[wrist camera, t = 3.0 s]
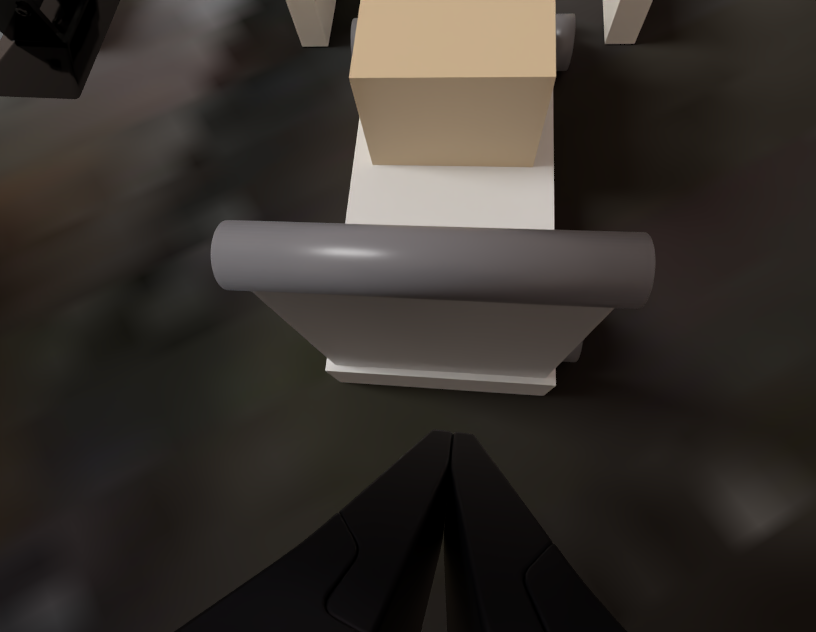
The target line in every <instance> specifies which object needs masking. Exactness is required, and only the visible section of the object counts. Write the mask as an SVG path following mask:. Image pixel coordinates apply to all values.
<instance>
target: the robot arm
mask: <svg viewBox="0 0 816 632" xmlns="http://www.w3.org/2000/svg"><path fill="white" fill-rule="evenodd" d="M452 438H453V440H452ZM446 503H447V504H446ZM445 514H446V516H445ZM444 524H445V527H444ZM443 533H444V565H445V588H446V611H447V632H627V631H626V630H625V629H624V628H623V627H622V626H621V624H620V623H619V622H618V621H617V620H616V619H615V618H614V617H613V616H612V615H611V613H610V612H609V611H608V610H607V609H606V608H605V606H604V605H603V604H602V603H601V602H600V601H599V600H598V598H597V597H596V596H595V595H594V594H593V593H592V591H591V590H590V589H589V588H588V587H587V586H586V584H585V583H584V582H583V581H582V579H581V578H580V577H579V576H578V574H577V573H576V572H575V570H574V569H573V568H572V567H571V565H570V564H569V563H568V561H567V560H566V559H565V557H564V556H563V555H562V553H561V552H560V551H559V549H558V548H557V546H556V545H555V544H553V543H552V541H551V539H550V538H549V537H548V535H547V534H546V533H545V531H544V530H543V528H542V527H541V526H540V524H539V523H538V522H537V520H536V519H535V517H534V516H533V515H532V513H531V512H530V511H529V509H528V508H527V507H526V505H525V504H524V502H523V501H522V500H521V498H520V497H519V496H518V494H517V493H516V491H515V490H514V489H513V487H512V486H511V485H510V483H509V482H508V481H507V479H506V478H505V476H504V475H503V474H502V472H501V471H500V470H499V468H498V467H497V465H496V464H495V463H494V461H493V460H492V459H491V457H490V456H489V455H488V453H487V452H486V450H485V449H484V448H483V446H482V445H481V444H480V442H479V441H478V439H477V438H476V437H475V436H474V435H473V434H469V433H461V432H455V433H454V434H452V432H450V431H444V430H435V429H434V430H432V431H430V432H429V433H428V434H427V435H426V436H425V437H424V438H423V439H421V440H420V441H419V442H418V443H417V444H416V445H415V446H413V447H412V448H411V449H410V450H409V451H408V452H407V453H405V454H404V455H403V456H402V457H401V458H400V459H399V460H398V461H396V462H395V463H394V464H393V465H392V466H391V467H390V468H388V469H387V470H386V471H385V472H384V473H383V474H382V475H380V476H379V477H378V478H377V479H376V480H375V481H374V482H372V483H371V484H370V485H369V486H368V487H367V488H366V489H365V490H363V491H362V492H361V493H360V494H359V495H358V496H357V497H355V498H354V499H353V500H352V501H351V502H350V503H349V504H347V505H346V506H345V507H344V508H343V509H342V510H341V511H340V512H339V513H336V514H335V515H334V516H333V517H332V518H331V519H329V520H328V521H327V522H326V523H325V524H324V525H323V526H321V527H320V528H319V529H318V530H316V531H315V532H314V533H313V534H312V535H310V536H309V537H308V538H307V539H305V540H304V541H303V542H302V543H300V544H299V545H298V546H296V547H295V548H294V549H292V550H291V551H289V552H288V553H287V554H285V555H284V556H283V557H281V558H280V559H278V560H277V561H276V562H274V563H273V564H271V565H270V566H268V567H267V568H266V569H264V570H263V571H261V572H260V573H258V574H257V575H255V576H254V577H253V578H251V579H250V580H248V581H247V582H245V583H244V584H242V585H241V586H240V587H238V588H237V589H235V590H234V591H232V592H231V593H229V594H228V595H227V596H225V597H224V598H222V599H221V600H219V601H218V602H216V603H215V604H213V605H212V606H211V607H209V608H208V609H206V610H205V611H203V612H202V613H200V614H199V615H198V616H196V617H195V618H193V619H192V620H190V621H189V622H187V623H186V624H185V625H183V626H182V627H180V628H179V629H177V630H176V631H174V632H421V629H422V624H423V620H424V616H425V612H426V608H427V604H428V599H429V595H430V591H431V587H432V583H433V579H434V574H435V570H436V566H437V562H438V558H439V554H440V549H441V545H442V540H443Z"/></svg>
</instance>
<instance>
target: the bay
mask: <svg viewBox="0 0 816 632" xmlns="http://www.w3.org/2000/svg"><path fill="white" fill-rule="evenodd" d="M652 1H653V0H603V14H604V38H605V44H635V41H636V39H637V37H638V34H639V32H640V30H641V27H642V25H643V22H644V20H645V18H646V15H647V13H648V11H649V8H650V6H651V3H652ZM286 2H287V5H288V8H289V11H290V14H291V16H292V19H293V22H294V25H295V27H296V30H297V33H298V36H299V39H300V41H301V44H302V47H315V46H328V44H329V39H330V33H331V27H332V22H333V16H334V10H335V5H336V0H286Z"/></svg>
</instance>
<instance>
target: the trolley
mask: <svg viewBox="0 0 816 632" xmlns="http://www.w3.org/2000/svg"><path fill="white" fill-rule="evenodd" d="M574 38H575V14H555V0H360V7H359V14H358V18H354V19H353V20H352V25H351V53H352V61H351V68H350V75H349V80H350V84H351V87H352V91H353V95H354V98H355V102H356V106H357V109H358V113H359V117H360V119H359V126H358V134H357V141H356V148H355V156H354V163H353V170H352V178H351V185H350V193H349V200H348V207H347V215H346V222H345V224H342V223H308V222H274V221H239V220H225V221H223V222H221V223H220V224H219V225H218V227H217V228H216V230H215V233H214V235H213V239H212V244H211V264H212V269H213V273H214V276H215V279H216V281H217V282H218V284H219V285H220V286H221V287H222V288H223V289H225V290H238V291H252V292H253V293H254V294H255V295H256V296H257V297H259V298H260V299H261V300H262V301H263V302H264V303H265V304H267V305H268V306H269V307H270V308H271V309H272V310H273V311H275V312H276V313H277V314H278V315H279V316H280V317H281V318H283V319H284V320H285V321H286V322H287V323H288V324H289V325H291V326H292V327H293V328H294V329H295V330H296V331H297V332H299V333H300V334H301V335H302V336H303V337H304V338H305V339H306V340H308V341H309V342H310V343H311V345H312V346H314V347H316V348H317V349H318V350H319V351H320V352H321V353H322V354H324V355H325V356H326V357H327V362H326V369H325V371H326V372H328V373H329V374H330V375H332V376H333V377H334V378H336V379H337V380H338V381H340V382H346V383H361V384H376V385H391V386H405V387H420V388H435V389H450V390H464V391H479V392H494V393H509V394H523V395H538V396H544V395H545V394H546V393H548V392H549V391H550V390H551V389H552V388H554V387H555V386H556V367H557V366H558V365H559V364H560V363H561V362H577V361H578V359H579V357H580V354H581V349H582V344H583V340H584V339H585V338H586V337H587V336H588V335H589V334H590V332H591V331H592V330H593V329H594V328H595V327H596V326H597V325H598V324H599V323H600V322H601V321H602V320H603V319H604V318H605V317H606V316H607V315H608V314H609V313H610V312H611V311H612V310H613V309H614V308H624V309H640V308H642V307H643V306H644V305H645V303H646V302H647V300H648V298H649V296H650V293H651V289H652V286H653V281H654V274H655V250H654V245H653V241H652V239H651V237H650V235H649V234H648V233H645V232H616V231H581V230H554V130H553V87H554V83H555V79H556V71H567V70H568V67H569V65H570V61H571V57H572V52H573V46H574Z"/></svg>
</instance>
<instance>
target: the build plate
mask: <svg viewBox="0 0 816 632" xmlns="http://www.w3.org/2000/svg"><path fill="white" fill-rule="evenodd" d="M119 1H120V0H0V31H1V32H2V33H3V36H2V38H1V40H0V96H9V97H36V98H62V99H77V98H79V97H80V95H81V93H82V90H83V88H84V86H85V83H86V81H87V78H88V76H89V74H90V71H91V69H92V66H93V64H94V61H95V59H96V57H97V54H98V52H99V49H100V47H101V45H102V42H103V40H104V37H105V35H106V33H107V30H108V28H109V25H110V23H111V21H112V18H113V16H114V13H115V11H116V9H117V6H118V4H119Z"/></svg>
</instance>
